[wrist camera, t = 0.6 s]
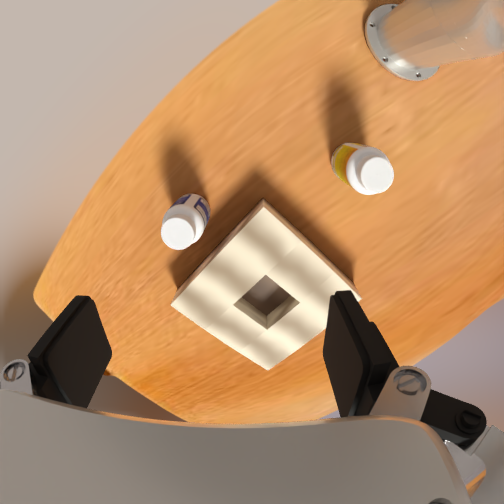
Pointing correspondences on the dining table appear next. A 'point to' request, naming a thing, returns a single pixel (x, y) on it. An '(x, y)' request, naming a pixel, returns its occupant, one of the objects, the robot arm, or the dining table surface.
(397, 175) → the dining table surface
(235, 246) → the socket block
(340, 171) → the supplement bottle
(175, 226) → the pill bottle
